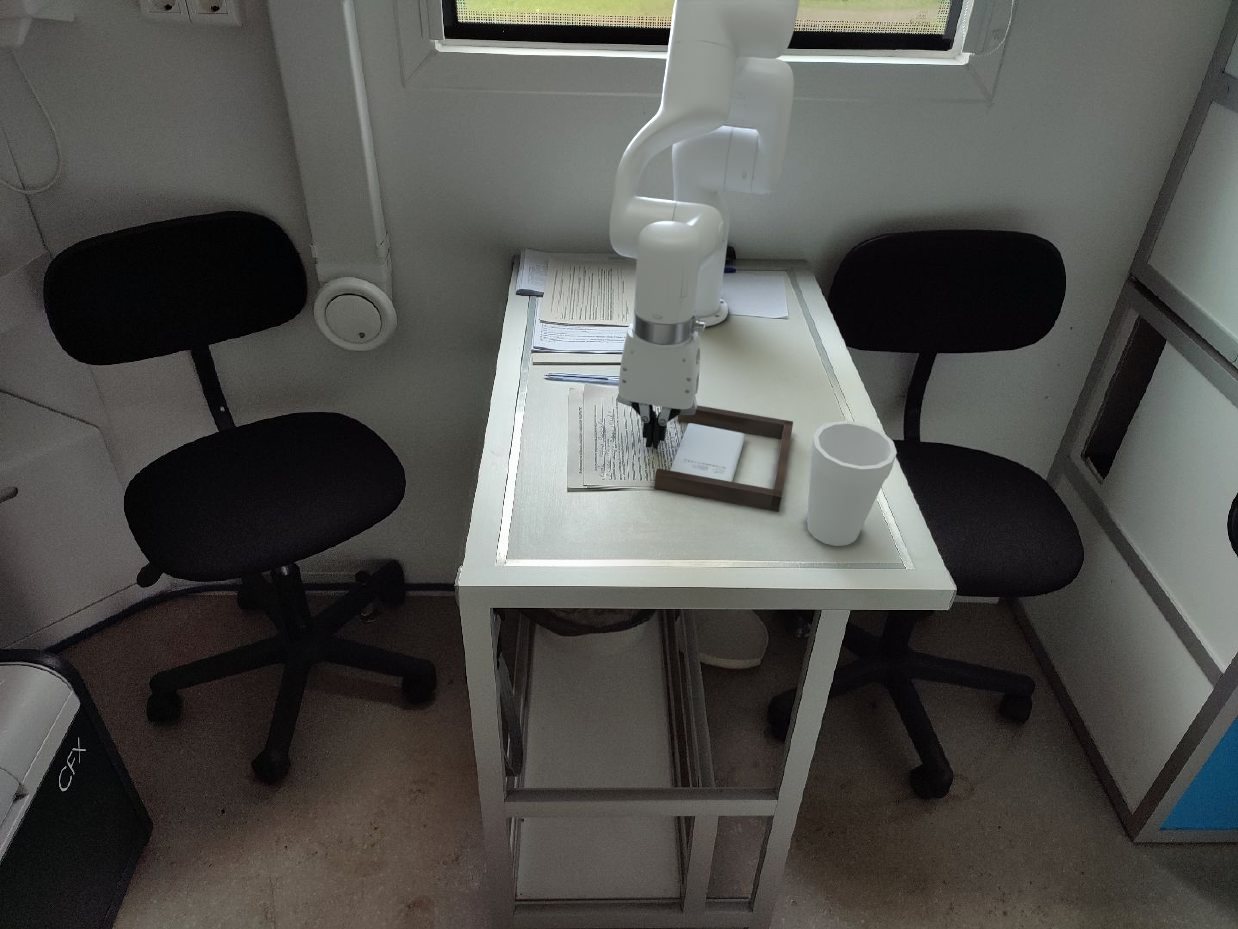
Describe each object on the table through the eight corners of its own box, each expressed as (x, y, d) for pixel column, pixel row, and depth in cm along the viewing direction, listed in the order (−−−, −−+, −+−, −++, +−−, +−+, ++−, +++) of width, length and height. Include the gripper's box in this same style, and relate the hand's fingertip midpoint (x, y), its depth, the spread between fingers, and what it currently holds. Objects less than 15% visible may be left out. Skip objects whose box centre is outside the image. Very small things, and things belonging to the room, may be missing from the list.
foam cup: (857, 565, 101) (882, 479, 94) (784, 537, 105) (802, 452, 97) (879, 520, 108) (905, 436, 100) (809, 495, 111) (828, 412, 104)
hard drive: (744, 442, 120) (728, 496, 111) (687, 431, 122) (666, 483, 112) (745, 433, 119) (730, 486, 110) (688, 422, 121) (667, 473, 111)
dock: (679, 416, 125) (680, 402, 123) (790, 435, 122) (793, 421, 121) (654, 488, 111) (655, 473, 110) (778, 512, 109) (781, 496, 107)
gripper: (726, 318, 108) (711, 436, 120) (612, 301, 111) (607, 419, 122) (718, 346, 103) (703, 468, 114) (597, 328, 105) (594, 449, 116)
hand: (653, 442), depth 118 cm, fingers closed
